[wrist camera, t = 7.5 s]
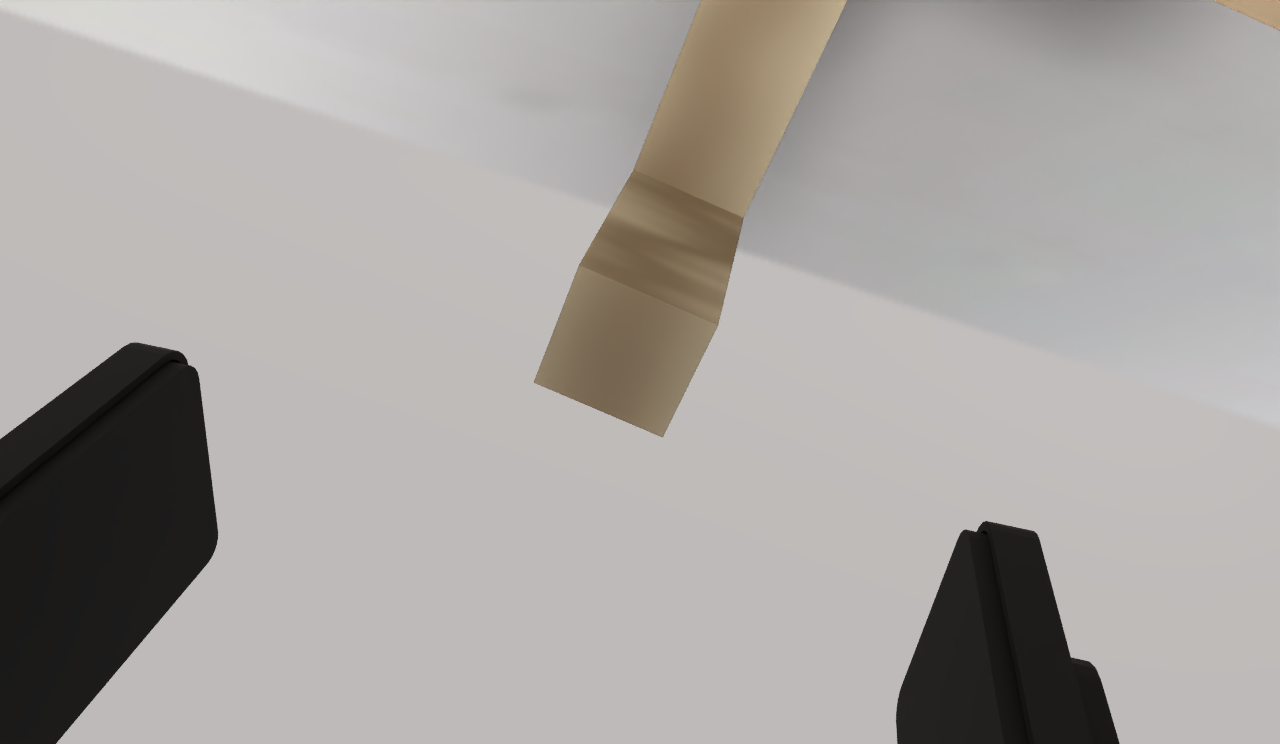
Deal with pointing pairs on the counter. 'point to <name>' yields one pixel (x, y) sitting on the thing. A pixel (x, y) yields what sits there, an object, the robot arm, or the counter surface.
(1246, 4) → the lid
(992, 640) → the robot arm
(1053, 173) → the counter surface
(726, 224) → the bent tan strip
